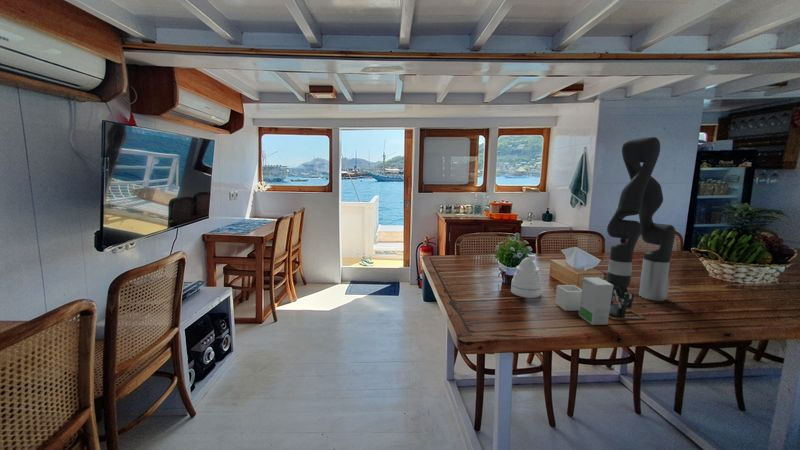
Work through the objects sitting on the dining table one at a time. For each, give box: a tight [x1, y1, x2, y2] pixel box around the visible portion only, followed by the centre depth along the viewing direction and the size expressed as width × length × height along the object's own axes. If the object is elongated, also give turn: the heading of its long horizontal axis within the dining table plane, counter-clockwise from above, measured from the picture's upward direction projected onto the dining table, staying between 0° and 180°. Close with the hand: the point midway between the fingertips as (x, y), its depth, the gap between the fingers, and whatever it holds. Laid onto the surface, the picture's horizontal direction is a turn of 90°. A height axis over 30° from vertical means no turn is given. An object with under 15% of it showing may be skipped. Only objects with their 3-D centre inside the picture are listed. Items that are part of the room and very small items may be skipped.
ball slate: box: [609, 303, 619, 317], centre depth 126 cm, size 4×4×4 cm
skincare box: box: [578, 276, 613, 326], centre depth 121 cm, size 8×7×16 cm
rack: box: [609, 309, 646, 321], centre depth 126 cm, size 13×7×1 cm, turn 93°
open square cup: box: [554, 284, 582, 312], centre depth 134 cm, size 8×8×8 cm
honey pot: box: [510, 254, 542, 299], centre depth 149 cm, size 13×13×18 cm
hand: (614, 313), depth 126 cm, fingers open, 6 cm apart
